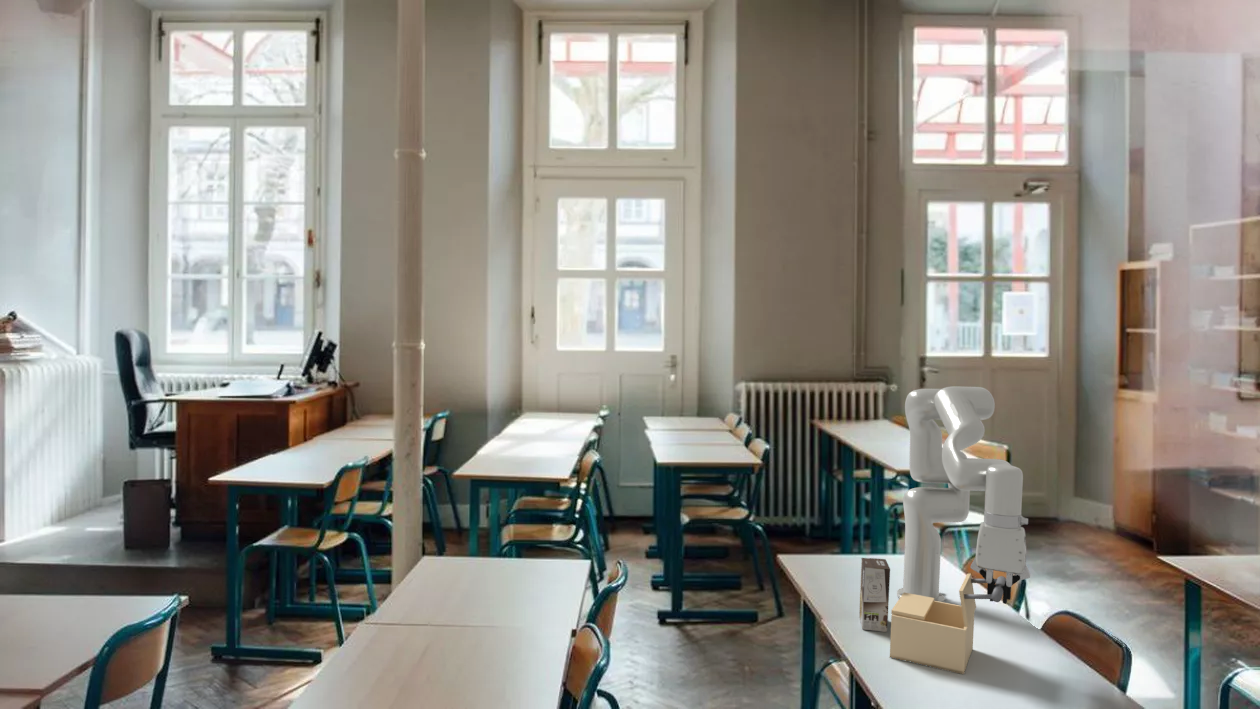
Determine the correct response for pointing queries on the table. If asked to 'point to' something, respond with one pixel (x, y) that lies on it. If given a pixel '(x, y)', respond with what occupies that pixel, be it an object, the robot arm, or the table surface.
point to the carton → (930, 633)
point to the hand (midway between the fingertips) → (998, 600)
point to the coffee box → (874, 594)
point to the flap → (977, 595)
